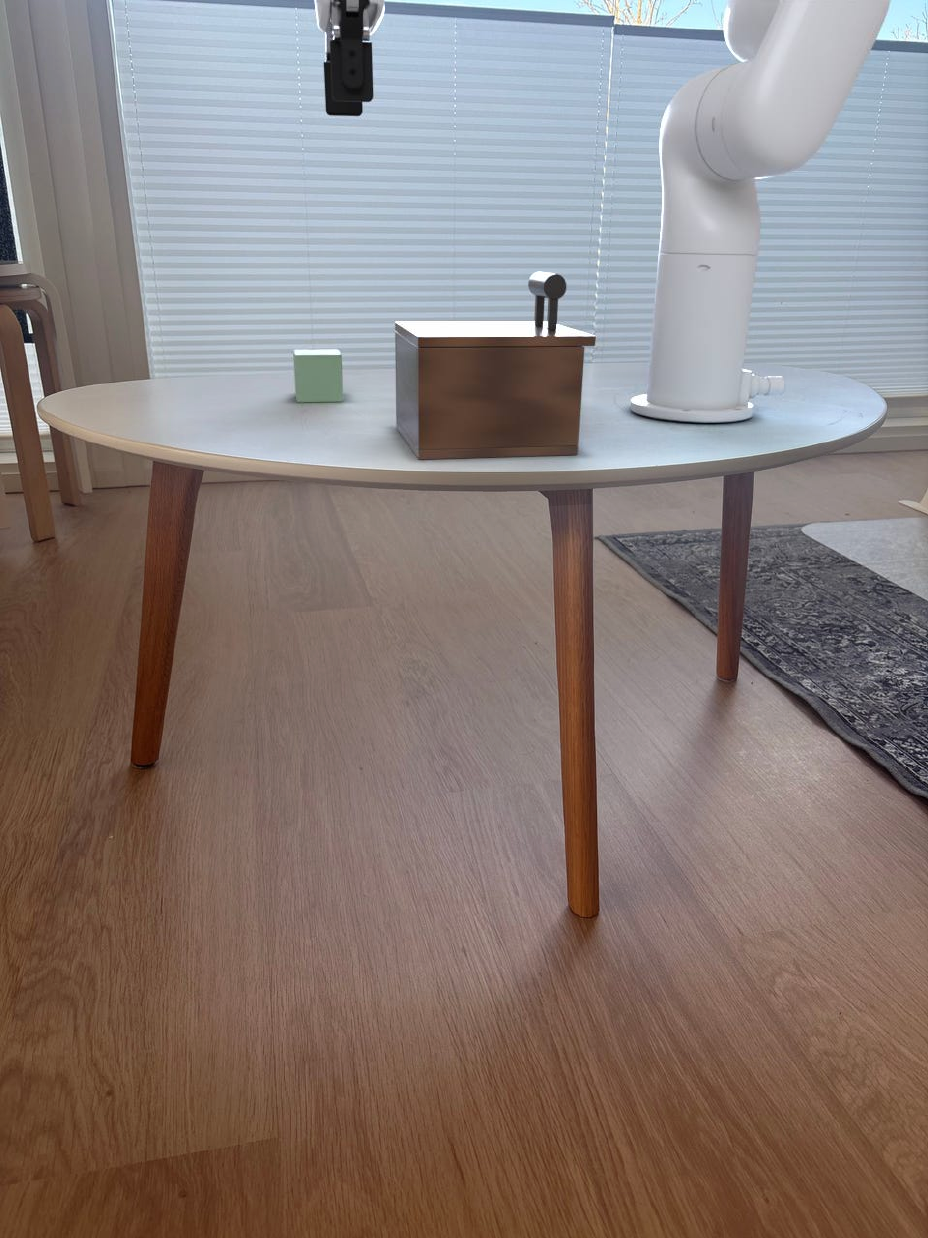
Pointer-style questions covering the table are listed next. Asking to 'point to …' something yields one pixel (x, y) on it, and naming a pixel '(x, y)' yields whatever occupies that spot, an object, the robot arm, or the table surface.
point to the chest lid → (504, 325)
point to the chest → (488, 400)
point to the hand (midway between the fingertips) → (348, 108)
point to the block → (318, 375)
